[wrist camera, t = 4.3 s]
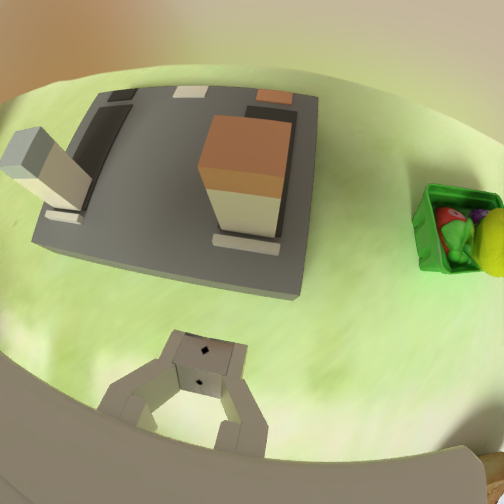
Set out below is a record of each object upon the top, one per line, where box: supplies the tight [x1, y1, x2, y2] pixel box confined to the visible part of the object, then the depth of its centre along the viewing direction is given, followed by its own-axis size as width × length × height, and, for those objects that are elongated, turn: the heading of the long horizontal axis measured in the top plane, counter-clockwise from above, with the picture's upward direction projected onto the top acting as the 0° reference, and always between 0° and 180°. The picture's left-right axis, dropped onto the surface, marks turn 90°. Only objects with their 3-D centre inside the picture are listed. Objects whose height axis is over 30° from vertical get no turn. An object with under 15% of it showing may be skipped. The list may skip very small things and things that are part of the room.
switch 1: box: [0, 126, 92, 211], centre depth 16 cm, size 4×3×8 cm
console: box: [31, 86, 318, 301], centre depth 22 cm, size 24×18×5 cm
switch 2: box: [197, 115, 292, 238], centre depth 15 cm, size 4×3×8 cm
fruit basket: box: [412, 183, 504, 277], centre depth 17 cm, size 11×9×11 cm
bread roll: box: [478, 451, 504, 504], centre depth 11 cm, size 10×15×8 cm, turn 79°
